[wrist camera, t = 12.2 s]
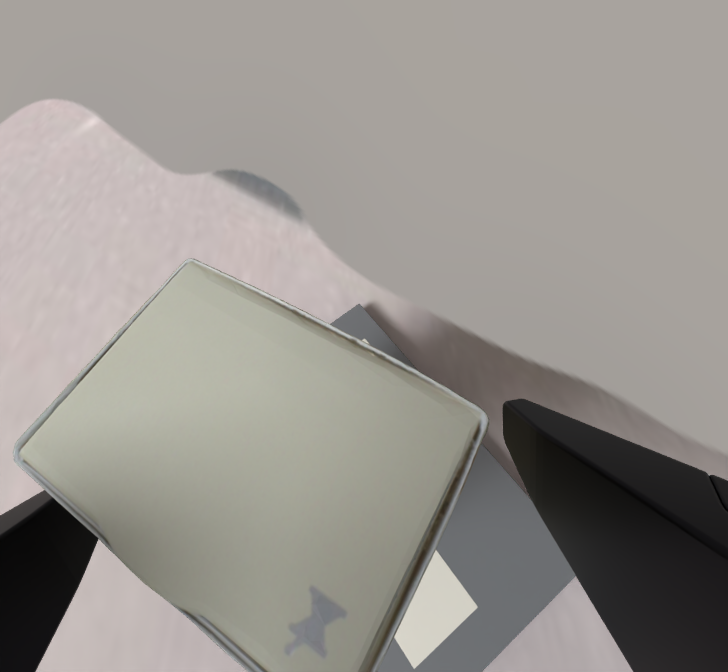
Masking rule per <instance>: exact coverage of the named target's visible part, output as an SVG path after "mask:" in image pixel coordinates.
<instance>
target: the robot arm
mask: <svg viewBox="0 0 728 672" xmlns="http://www.w3.org/2000/svg"><path fill="white" fill-rule="evenodd" d="M503 435H504V440H505V443H506V446H507V448H508V450H509V452H510V454H511V456H512V459H513V461H514V463H515V465H516V467H517V469H518V472H519V474H520V476H521V478H522V480H523V482H524V485H525V487H526V489H527V491H528V493H529V495H530V498H531V500H532V502H533V504H534V506H535V508H536V510H537V511H538V513H539V515H540V517H541V518H542V520H543V522H544V523H545V525H546V527H547V528H548V530H549V532H550V533H551V535H552V537H553V538H554V540H555V542H556V543H557V545H558V547H559V548H560V550H561V552H562V553H563V555H564V557H565V558H566V560H567V562H568V563H569V565H570V567H571V568H572V570H573V572H574V573H575V575H576V577H577V578H578V580H579V582H580V583H581V585H582V587H583V588H584V590H585V592H586V593H587V595H588V597H589V598H590V600H591V602H592V604H593V605H594V607H595V609H596V610H597V612H598V614H599V615H600V617H601V619H602V620H603V622H604V624H605V625H606V627H607V629H608V630H609V632H610V634H611V635H612V637H613V639H614V640H615V642H616V644H617V645H618V647H619V649H620V650H621V652H622V654H623V655H624V657H625V659H626V660H627V662H628V664H629V665H630V667H631V669H632V670H633V672H728V481H727V480H725V479H722V478H720V477H717V476H715V475H710V476H709V475H708V474H707V473H706V472H704V471H702V470H699V469H697V468H694V467H692V466H689V465H687V464H684V463H682V462H680V461H677V460H675V459H672V458H670V457H667V456H665V455H662V454H660V453H657V452H655V451H652V450H650V449H647V448H645V447H642V446H640V445H637V444H635V443H632V442H630V441H627V440H625V439H622V438H620V437H617V436H615V435H612V434H610V433H607V432H605V431H602V430H600V429H597V428H595V427H592V426H590V425H587V424H585V423H582V422H580V421H578V420H575V419H573V418H570V417H568V416H565V415H563V414H560V413H558V412H555V411H553V410H550V409H548V408H545V407H543V406H540V405H538V404H535V403H533V402H530V401H528V400H525V399H516V400H511V401H506V402H505V403H504V404H503ZM98 539H99V538H98V537H97V536H95V535H94V534H93V533H92V532H91V531H90V530H88V529H87V528H86V527H85V526H84V525H83V524H82V523H81V522H80V521H78V520H77V519H76V518H75V517H74V516H73V515H72V514H71V513H70V512H68V511H67V510H66V509H65V508H64V507H63V506H62V505H61V504H60V503H58V502H57V501H56V500H55V499H54V498H53V497H52V496H51V495H50V494H49V493H48V492H46V491H45V490H44V491H42V492H40V493H39V494H37V495H35V496H33V497H32V498H30V499H28V500H26V501H25V502H23V503H21V504H19V505H18V506H16V507H14V508H13V509H11V510H9V511H7V512H6V513H4V514H2V515H0V672H36V670H37V668H38V666H39V664H40V662H41V660H42V658H43V656H44V654H45V652H46V650H47V648H48V646H49V644H50V642H51V640H52V638H53V636H54V634H55V632H56V630H57V628H58V626H59V624H60V623H61V621H62V619H63V617H64V615H65V613H66V611H67V609H68V607H69V605H70V603H71V601H72V599H73V597H74V595H75V593H76V591H77V589H78V587H79V584H80V582H81V580H82V578H83V575H84V573H85V571H86V568H87V566H88V563H89V561H90V558H91V556H92V553H93V551H94V549H95V546H96V544H97V541H98Z"/></svg>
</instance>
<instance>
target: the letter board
mask: <svg viewBox="0 0 728 672" xmlns="http://www.w3.org/2000/svg"><path fill="white" fill-rule="evenodd" d="M331 325H333V326H335V327H337V328H338V329H340V330H342V331H344V332H346V333H348V334H350V335H352V336H354V337H356V338H358V339H360V340H362V341H364V342H366V343H367V344H369V345H371V346H373V347H375V348H377V349H379V350H381V351H383V352H385V353H386V354H388V355H390V356H392V357H394V358H396V359H398V360H399V361H401V362H403V363H405V364H406V365H408V366H410V367H412V368H414V369H416V368H415V367H414V366H413V364H412V363H411V362H410V361H409V360H408V359H407V358H406V356H405V355H404V354H403V353H402V352H401V351H400V350H399V348H398V347H397V346H396V345H395V344H394V343H393V342H392V340H391V339H390V338H389V337H388V336H387V335H386V334H385V332H384V331H383V330H382V329H381V328H380V327H379V326H378V324H377V323H376V322H375V321H374V320H373V319H372V318H371V316H370V315H369V314H368V313H367V312H366V311H365V310H364V308H363V307H362V306H361V305H360V304H358V305H357V306H355V307H354V308H352V309H351V310H349V311H348V312H347V313H345V314H344V315H342V316H341V317H340V318H338V319H337V320H335V321H334V322H332V323H331ZM416 370H417V369H416ZM575 576H576V575H575V573H574V572H573V570H572V568H571V567H570V565H569V563H568V562H567V560H566V558H565V557H564V555H563V553H562V552H561V550H560V548H559V547H558V545H557V543H556V542H555V540H554V538H553V537H552V535H551V533H550V532H549V530H548V528H547V527H546V525H545V523H544V522H543V520H542V518H541V517H540V515H539V513H538V511H537V510H536V508H535V506H534V504H533V502H532V500H531V499H530V498H529V497H528V496H527V495H526V494H525V492H524V491H523V490H522V489H521V488H520V487H519V486H518V484H517V483H516V482H515V481H514V480H513V479H512V478H511V476H510V475H509V474H508V473H507V472H506V471H505V470H504V468H503V467H502V466H501V465H500V464H499V463H498V462H497V460H496V459H495V458H494V457H493V456H492V455H491V454H490V452H489V451H488V450H487V449H486V448H485V447H484V446H483V444H482V443H481V445H480V447H479V450H478V452H477V455H476V458H475V460H474V463H473V465H472V468H471V470H470V473H469V475H468V478H467V480H466V483H465V485H464V487H463V489H462V492H461V494H460V496H459V498H458V501H457V503H456V505H455V508H454V510H453V512H452V514H451V517H450V519H449V521H448V523H447V526H446V528H445V530H444V532H443V535H442V537H441V539H440V541H439V543H438V546H437V548H436V550H435V552H434V554H433V557H432V559H431V561H430V563H429V565H428V567H427V569H426V571H425V573H424V575H423V577H422V579H421V582H420V584H419V586H418V588H417V590H416V592H415V594H414V596H413V598H412V601H411V603H410V605H409V607H408V609H407V611H406V613H405V615H404V617H403V619H402V622H401V624H400V626H399V628H398V630H397V632H396V634H395V636H394V638H393V640H392V642H391V644H390V646H389V648H388V651H387V653H386V655H385V657H384V659H383V661H382V663H381V665H380V667H379V669H378V671H377V672H482V671H483V670H484V669H485V668H486V667H487V666H488V665H489V664H490V663H491V662H492V661H493V660H494V659H495V658H496V657H497V656H498V655H499V654H500V653H501V652H502V651H503V650H504V649H505V648H506V646H507V645H508V644H509V643H510V642H511V641H512V640H513V639H514V638H515V637H516V636H517V635H518V634H519V633H520V632H521V631H522V630H523V629H524V628H525V627H526V626H527V625H528V624H529V623H530V622H531V621H532V620H533V619H534V618H535V617H536V616H537V615H538V614H539V613H540V612H541V611H542V610H543V609H544V608H545V607H546V606H547V605H548V604H549V603H550V602H551V601H552V600H553V599H554V598H555V597H556V596H557V595H558V593H559V592H560V591H561V590H562V589H563V588H564V587H565V586H566V585H567V584H568V583H569V582H570V581H571V580H572V579H573V578H574V577H575Z"/></svg>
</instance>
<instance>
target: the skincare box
mask: <svg viewBox="0 0 728 672" xmlns="http://www.w3.org/2000/svg"><path fill="white" fill-rule="evenodd" d="M488 425H489V418H488V416H487V414H486V413H485V411H483V410H482V409H481V408H480V407H479V406H477V405H475V404H474V403H472V402H470V401H468V400H467V399H465V398H463V397H461V396H460V395H458V394H457V393H455V392H453V391H452V390H450V389H449V388H447V387H445V386H443V385H442V384H440V383H438V382H436V381H435V380H433V379H431V378H429V377H428V376H426V375H424V374H423V373H421V372H419V371H418V370H416V369H414V368H412V367H410V366H408V365H406V364H405V363H403V362H401V361H399V360H398V359H396V358H394V357H392V356H390V355H388V354H386V353H385V352H383V351H381V350H379V349H377V348H375V347H373V346H371V345H369V344H367V343H366V342H364V341H362V340H360V339H358V338H356V337H354V336H352V335H350V334H348V333H346V332H344V331H342V330H340V329H338V328H337V327H335V326H333V325H331V324H328V323H326V322H324V321H322V320H320V319H318V318H317V317H315V316H313V315H311V314H309V313H307V312H305V311H303V310H301V309H299V308H297V307H295V306H293V305H291V304H289V303H287V302H285V301H283V300H281V299H278V298H276V297H274V296H272V295H270V294H268V293H266V292H264V291H262V290H260V289H258V288H256V287H254V286H252V285H249V284H247V283H245V282H243V281H240V280H238V279H236V278H234V277H233V276H230V275H228V274H226V273H223V272H221V271H219V270H217V269H215V268H213V267H210V266H208V265H206V264H204V263H202V262H200V261H198V260H196V259H187V260H185V261H184V262H183V263H182V264H181V265H180V266H179V267H178V268H177V269H176V270H175V271H174V273H173V274H172V275H171V276H170V277H169V278H168V279H167V281H166V282H165V283H164V284H163V285H162V286H161V287H160V288H159V289H158V290H157V291H156V292H155V293H154V294H153V295H152V296H151V297H150V298H149V299H148V300H147V301H146V302H145V303H144V305H143V306H142V307H141V308H140V309H139V310H138V311H137V312H136V313H135V314H134V315H133V316H132V317H131V319H130V320H129V321H128V322H127V323H126V324H125V325H124V326H123V327H122V328H121V329H120V330H119V331H118V332H117V333H116V334H115V335H114V336H113V337H112V339H111V340H110V341H109V342H108V343H107V344H106V345H105V346H104V347H103V348H102V350H101V351H100V352H99V353H98V354H97V355H96V356H95V357H94V358H93V359H92V360H91V362H90V363H89V364H88V365H87V366H86V367H85V368H84V369H83V370H82V371H81V372H80V373H79V374H78V375H77V377H76V378H75V379H74V380H73V381H72V382H71V383H70V384H69V385H68V386H67V387H66V388H65V389H64V390H63V391H62V393H61V394H60V395H59V396H58V397H57V398H56V399H55V400H54V401H53V402H52V404H51V405H50V406H49V407H48V408H47V409H46V410H45V411H44V412H43V413H42V414H41V415H40V417H39V418H38V419H37V420H36V421H35V422H34V423H33V424H32V425H31V426H30V427H29V428H28V429H27V431H26V432H25V433H24V434H23V435H22V436H21V437H20V438H19V439H18V440H17V442H16V443H15V446H14V451H13V456H14V461H15V463H16V464H17V465H18V466H19V467H20V468H21V469H23V470H24V471H25V472H26V473H27V474H28V475H29V476H30V477H31V478H33V479H34V480H35V481H36V482H37V483H38V484H39V485H40V486H41V487H42V488H43V489H44V490H45V491H46V492H48V493H49V494H50V495H51V496H52V497H53V498H54V499H55V500H56V501H57V502H58V503H60V504H61V505H62V506H63V507H64V508H65V509H66V510H67V511H68V512H70V513H71V514H72V515H73V516H74V517H75V518H76V519H77V520H78V521H80V522H81V523H82V524H83V525H84V526H85V527H86V528H87V529H88V530H90V531H91V532H92V533H93V534H94V535H95V536H97V537H98V538H99V539H100V540H101V542H102V543H103V544H104V545H105V546H106V547H107V548H108V549H109V550H110V551H111V552H113V553H114V554H115V555H116V556H117V557H118V558H119V559H120V560H121V561H122V562H123V563H124V564H125V565H126V566H127V567H128V568H129V569H130V570H131V571H132V572H133V573H134V574H135V575H136V576H137V577H138V578H139V579H140V580H141V581H142V582H143V583H145V584H146V585H147V586H148V587H150V588H151V589H152V590H154V591H155V592H156V593H158V594H159V595H160V596H162V597H163V598H164V599H165V600H167V601H168V602H169V603H170V604H172V605H173V606H174V607H175V608H177V609H178V610H179V611H180V612H181V613H183V614H184V615H185V616H186V617H187V618H189V619H190V620H191V621H192V622H193V623H194V624H195V625H196V626H197V627H198V628H199V629H201V630H202V631H203V632H204V633H205V634H206V635H207V636H208V637H209V638H210V639H211V640H212V641H214V642H215V643H216V644H217V645H218V646H219V647H220V648H221V649H222V650H223V651H224V652H226V653H227V654H228V655H229V656H230V657H231V658H233V659H234V660H235V661H236V662H237V663H239V664H240V665H241V666H242V667H243V668H245V669H246V670H247V671H248V672H377V671H378V669H379V667H380V665H381V663H382V661H383V659H384V657H385V655H386V653H387V651H388V648H389V646H390V644H391V642H392V640H393V638H394V636H395V634H396V632H397V630H398V628H399V626H400V624H401V622H402V619H403V617H404V615H405V613H406V611H407V609H408V607H409V605H410V603H411V601H412V598H413V596H414V594H415V592H416V590H417V588H418V586H419V584H420V582H421V579H422V577H423V575H424V573H425V571H426V569H427V567H428V565H429V563H430V561H431V559H432V557H433V554H434V552H435V550H436V548H437V546H438V543H439V541H440V539H441V537H442V535H443V532H444V530H445V528H446V526H447V523H448V521H449V519H450V517H451V514H452V512H453V510H454V508H455V505H456V503H457V501H458V498H459V496H460V494H461V492H462V489H463V487H464V485H465V483H466V480H467V478H468V475H469V473H470V470H471V468H472V465H473V463H474V460H475V458H476V455H477V452H478V450H479V447H480V445H481V442H482V440H483V438H484V436H485V434H486V432H487V429H488Z"/></svg>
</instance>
